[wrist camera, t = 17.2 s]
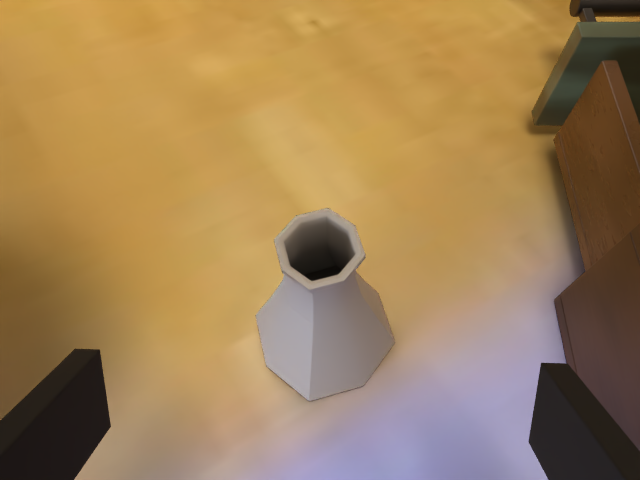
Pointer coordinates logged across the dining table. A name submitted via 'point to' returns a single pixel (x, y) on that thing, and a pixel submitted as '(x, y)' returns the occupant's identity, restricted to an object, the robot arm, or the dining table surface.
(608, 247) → the drawer
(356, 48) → the dining table surface
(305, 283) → the flask
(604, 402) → the cabinet
